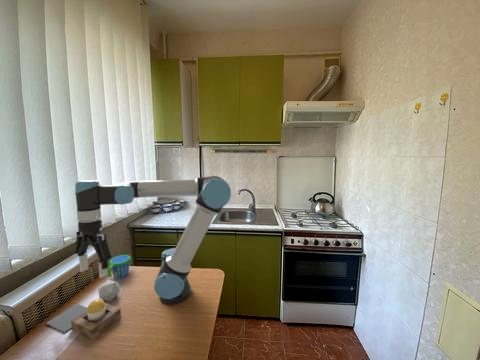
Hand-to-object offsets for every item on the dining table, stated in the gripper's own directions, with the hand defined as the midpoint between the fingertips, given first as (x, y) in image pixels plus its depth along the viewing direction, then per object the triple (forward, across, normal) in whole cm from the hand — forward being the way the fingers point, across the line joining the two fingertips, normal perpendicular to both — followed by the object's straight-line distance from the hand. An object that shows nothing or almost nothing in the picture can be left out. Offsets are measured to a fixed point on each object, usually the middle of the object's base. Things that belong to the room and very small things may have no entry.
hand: (93, 273), depth 84 cm
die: (+22, +10, -13) cm, 28 cm away
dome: (+19, 0, 0) cm, 19 cm away
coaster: (+22, +13, +2) cm, 26 cm away
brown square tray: (+22, 0, 0) cm, 22 cm away
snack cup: (+22, +22, -29) cm, 43 cm away
